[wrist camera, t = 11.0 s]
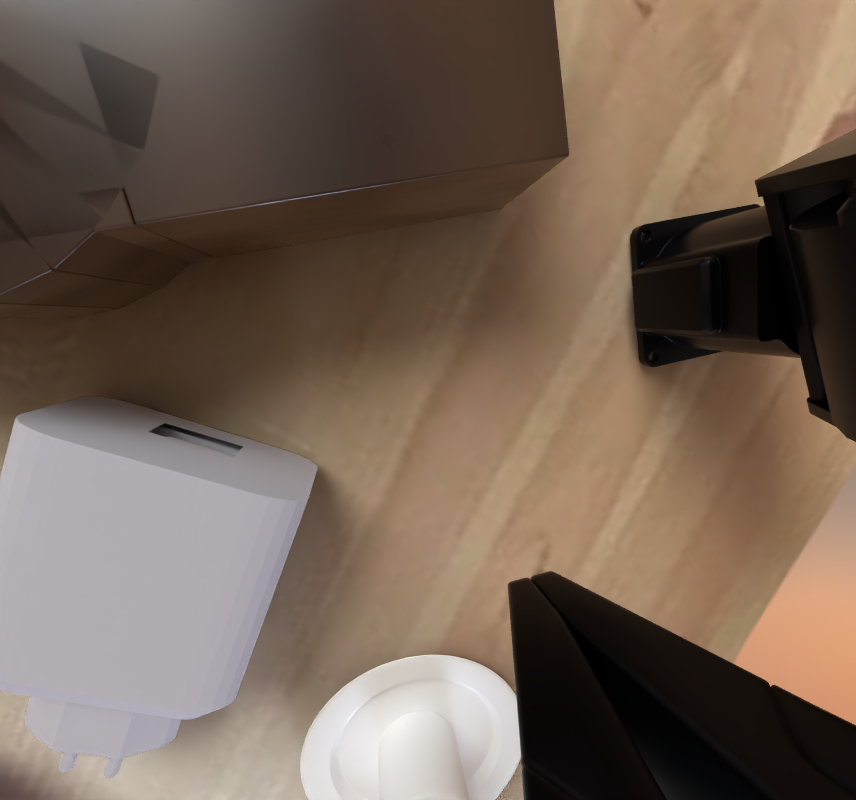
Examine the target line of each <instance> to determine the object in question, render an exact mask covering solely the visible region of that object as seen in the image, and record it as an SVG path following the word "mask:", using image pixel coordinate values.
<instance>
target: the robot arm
mask: <svg viewBox="0 0 856 800" xmlns="http://www.w3.org/2000/svg"><path fill="white" fill-rule="evenodd" d="M755 184H756V188H757V192H758V197H762V196H763V200H764V204H765V206H762V207H761V206H759V205H758V204H753V205H747V206H742V207H737V208H731V209H726V210H720V211H715V212H709V213H704V214H699V215H693V216H688V217H682V218H677V219H672V220H666V221H661V222H655V223H650V224H645V225H642V226H639V227H637V228H635V229H634V230H633V231H632V233H631V236H630V244H631V258H632V271H633V275H632V285H633V299H634V312H635V325H636V328H637V339H638V352H639V360H640V362H641V364H642V365H644V366H648V367H656V366H661V365H665V364H669V363H674V362H678V361H682V360H687V359H691V358H696V357H700V356H704V355H709V354H713V353H717V352H722V351H730V352H741V353H752V354H763V355H774V356H784V357H795V358H801V362H802V366H803V370H804V374H805V379H806V383H807V387H808V391H809V396H810V397H809V398H807V403H808V407H809V411H810V413H811V414H813V415H814V416H816V417H818V418H820V419H822V420H824V421H826V422H828V423H830V424H832V425H834V426H835V427H837V428H838V429H839V430H840V431H841V432H842V433H843V434H844V435H845V436H846V437H847V438H849V439H851V440H853V441H855V442H856V129H855V130H853V131H851V132H849V133H847V134H845V135H843V136H841V137H839V138H837V139H835V140H833V141H831V142H829V143H827V144H825V145H823V146H821V147H819V148H817V149H815V150H814V151H812V152H810V153H808V154H806V155H804V156H802V157H800V158H798V159H796V160H794V161H792V162H790V163H788V164H786V165H784V166H782V167H780V168H778V169H776V170H774V171H772V172H770V173H768V174H766V175H764V176H762V177H760V178H758V179H757V180H755ZM642 232H643V233H644V234H645V240H644V242H643V241H642V239H641V234H642ZM651 352H652V353H653V358H652V359H651V360H650V359H649V355H650V354H651ZM508 594H509V607H510V620H511V633H512V646H513V659H514V672H515V685H516V698H517V711H518V724H519V737H520V750H521V763H522V769H523V770H522V781H523V794H524V800H856V725H854V724H852V723H850V722H848V721H846V720H844V719H842V718H839V717H837V716H836V715H834V714H831V713H829V712H827V711H825V710H823V709H821V708H819V707H817V706H815V705H813V704H811V703H809V702H807V701H805V700H803V699H801V698H800V697H798V696H796V695H793V694H792V693H790V692H788V691H785V690H783V689H782V688H780V687H778V686H776V685H772V686H771V687H770V685H769V683H768V682H767V681H766V680H764V679H762V678H760V677H758V676H756V675H754V674H752V673H750V672H748V671H746V670H744V669H742V668H740V667H739V666H737V665H735V664H733V663H731V662H729V661H727V660H725V659H723V658H721V657H719V656H717V655H715V654H713V653H711V652H709V651H707V650H705V649H703V648H701V647H699V646H698V645H696V644H694V643H692V642H690V641H688V640H686V639H684V638H682V637H680V636H678V635H676V634H674V633H672V632H670V631H668V630H666V629H664V628H662V627H660V626H658V625H656V624H655V623H653V622H651V621H649V620H647V619H645V618H643V617H641V616H639V615H637V614H635V613H633V612H631V611H629V610H627V609H625V608H623V607H621V606H619V605H617V604H615V603H614V602H612V601H610V600H608V599H606V598H604V597H602V596H600V595H598V594H596V593H594V592H592V591H590V590H588V589H586V588H584V587H582V586H580V585H578V584H576V583H574V582H573V581H571V580H569V579H567V578H565V577H563V576H561V575H559V574H557V573H555V572H552V571H549V572H545V573H541V574H537V575H534V576H532V577H531V579H530V578H523V579H519V580H515V581H512V582H510V583H509V584H508Z"/></svg>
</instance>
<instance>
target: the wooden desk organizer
mask: <svg viewBox="0 0 856 800" xmlns="http://www.w3.org/2000/svg"><path fill="white" fill-rule="evenodd" d="M568 155H569V148H568V138H567V128H566V119H565V109H564V99H563V89H562V79H561V69H560V59H559V50H558V40H557V30H556V20H555V10H554V0H0V318H69V317H74V316H80V315H85V314H91V313H96V312H102V311H107V310H113V309H117V308H120V307H122V306H124V305H126V304H128V303H130V302H133V301H135V300H137V299H139V298H141V297H143V296H145V295H147V294H149V293H151V292H153V291H155V290H158V289H160V288H161V287H162V286H165V285H166V284H167V283H168V282H169V281H170V280H171V279H172V278H173V277H174V276H176V275H177V274H178V273H179V272H180V271H181V270H182V269H183V268H184V267H185V266H187V265H188V264H189V263H190V262H195V261H200V260H206V259H212V258H214V257H216V258H218V257H224V256H229V255H235V254H241V253H247V252H253V251H258V250H264V249H270V248H276V247H282V246H288V245H293V244H299V243H305V242H311V241H317V240H322V239H328V238H334V237H340V236H346V235H351V234H357V233H363V232H369V231H375V230H381V229H386V228H392V227H398V226H404V225H410V224H415V223H421V222H427V221H433V220H439V219H444V218H450V217H456V216H462V215H468V214H474V213H479V212H485V211H491V210H497V209H501V208H502V207H504V206H505V205H506V204H507V203H509V202H510V201H511V200H513V199H514V198H515V197H516V196H518V195H519V194H520V193H522V192H523V191H524V190H525V189H527V188H528V187H529V186H530V185H532V184H533V183H534V182H536V181H537V180H538V179H539V178H541V177H542V176H543V175H544V174H546V173H547V172H548V171H550V170H551V169H552V168H553V167H555V166H556V165H557V164H559V163H560V162H561V161H562V160H564V159H565V158H566V157H567V156H568Z"/></svg>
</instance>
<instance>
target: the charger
mask: <svg viewBox="0 0 856 800" xmlns="http://www.w3.org/2000/svg"><path fill="white" fill-rule="evenodd" d="M317 469H318V467H317V465H316V464H315V463H313V462H312V461H310V460H308V459H306V458H304V457H302V456H300V455H297V454H295V453H292V452H289V451H286V450H283V449H280V448H277V447H273V446H270V445H267V444H264V443H260V442H257V441H254V440H251V439H247V438H244V437H241V436H238V435H234V434H231V433H228V432H225V431H221V430H218V429H215V428H212V427H208V426H205V425H202V424H198V423H195V422H192V421H189V420H185V419H182V418H179V417H176V416H172V415H169V414H166V413H163V412H159V411H156V410H153V409H150V408H146V407H143V406H140V405H136V404H132V403H129V402H125V401H120V400H116V399H111V398H105V397H97V396H83V397H79V398H76V399H72V400H69V401H65V402H62V403H58V404H55V405H51V406H47V407H44V408H40V409H37V410H33V411H30V412H26V413H23V414H19V415H18V416H17V417H15V421H14V425H13V429H12V433H11V437H10V441H9V445H8V449H7V453H6V457H5V460H4V464H3V468H2V472H1V476H0V691H1V692H6V693H12V694H19V695H25V696H30V699H29V702H28V706H27V709H26V713H25V716H24V717H25V725H26V728H27V729H28V730H29V731H30V732H31V733H32V734H33V735H35V736H36V737H37V738H38V739H39V740H40V741H41V742H42V743H44V744H45V745H46V746H47V747H48V748H49V749H50V750H53V751H61V752H63V753H62V756H61V760H60V763H59V766H58V770H59V771H60V772H67V771H70V770H71V769H72V768H73V766H74V763H75V760H76V757H77V754H84V755H91V756H99V757H106V758H108V761H107V764H106V767H105V770H104V776H105V777H107V778H111V777H114V776H116V775H117V773H118V771H119V768H120V765H121V762H122V759H123V758H124V757H128V756H132V755H135V754H139V753H143V752H146V751H150V750H153V749H157V748H161V747H163V746H165V745H166V744H168V743H169V742H171V741H172V740H174V739H175V738H176V735H177V732H178V729H179V726H180V723H181V720H182V719H183V720H187V719H194V718H198V717H200V716H203V715H206V714H208V713H211V712H213V711H216V710H218V709H221V708H223V707H225V706H227V705H229V704H231V703H232V702H233V701H234V699H235V698H236V696H237V693H238V690H239V688H240V685H241V682H242V680H243V677H244V674H245V671H246V669H247V666H248V663H249V660H250V658H251V655H252V652H253V649H254V647H255V644H256V641H257V638H258V636H259V633H260V630H261V627H262V625H263V622H264V619H265V616H266V614H267V611H268V608H269V606H270V603H271V600H272V597H273V595H274V592H275V589H276V586H277V584H278V581H279V578H280V575H281V573H282V570H283V567H284V564H285V562H286V559H287V556H288V553H289V551H290V548H291V545H292V542H293V540H294V537H295V534H296V532H297V529H298V526H299V523H300V521H301V518H302V515H303V512H304V510H305V507H306V504H307V501H308V499H309V496H310V492H311V489H312V485H313V482H314V479H315V475H316V472H317Z"/></svg>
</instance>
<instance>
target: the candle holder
mask: <svg viewBox="0 0 856 800" xmlns="http://www.w3.org/2000/svg"><path fill="white" fill-rule="evenodd" d="M520 758H521V750H520V737H519V724H518V711H517V698H516V695H515V693H514V692H513V690H512V689H511V688H510V686H509V685H508V684H507V683H506V682H505V681H504V680H503V679H502V678H501V677H500V676H499V675H497V674H496V673H495V672H493V671H492V670H490V669H488V668H487V667H485V666H483V665H481V664H479V663H476V662H474V661H471V660H468V659H464V658H460V657H455V656H448V655H420V656H413V657H407V658H403V659H398V660H395V661H392V662H389V663H386V664H383V665H380V666H378V667H376V668H374V669H371V670H369V671H367V672H366V673H364V674H362V675H360V676H359V677H357V678H355V679H354V680H352V681H351V682H350V683H348V684H347V685H346V686H344V687H343V688H342V689H341V690H339V691H338V692H337V693H336V694H335V695H334V696H333V697H332V698H331V699H330V700H329V701H328V702H327V703H326V704H325V706H324V707H323V708H322V709H321V711H320V712H319V713H318V715H317V716H316V718H315V720H314V721H313V723H312V725H311V727H310V729H309V731H308V733H307V735H306V738H305V741H304V744H303V748H302V753H301V761H300V772H301V780H302V784H303V788H304V791H305V793H306V796H307V798H308V800H495V799H496V798H497V797H498V796H499V794H500V793H501V792H502V790H503V789H504V788H505V786H506V785H507V783H508V782H509V780H510V779H511V777H512V775H513V774H514V772H515V770H516V768H517V766H518V763H519V761H520Z"/></svg>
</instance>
